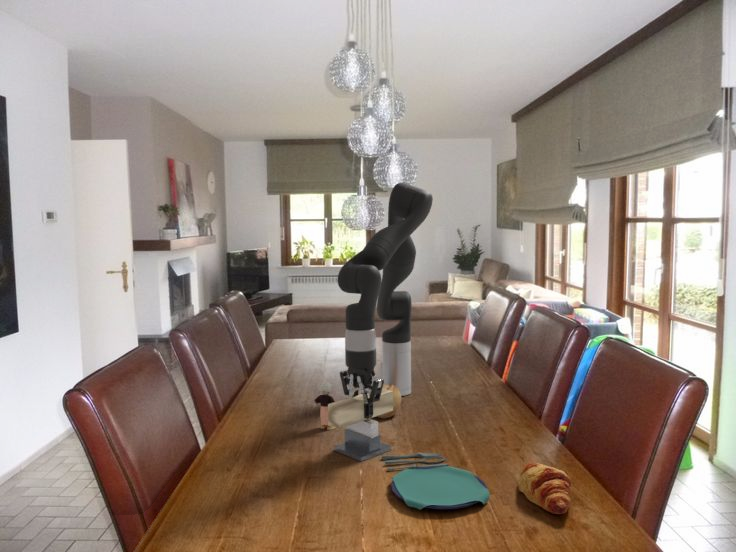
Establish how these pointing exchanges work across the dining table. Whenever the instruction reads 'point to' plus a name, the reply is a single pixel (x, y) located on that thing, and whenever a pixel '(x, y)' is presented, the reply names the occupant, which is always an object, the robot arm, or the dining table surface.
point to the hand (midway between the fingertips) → (361, 415)
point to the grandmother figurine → (324, 404)
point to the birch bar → (357, 409)
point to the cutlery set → (435, 484)
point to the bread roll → (395, 401)
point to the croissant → (546, 487)
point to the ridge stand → (362, 441)
